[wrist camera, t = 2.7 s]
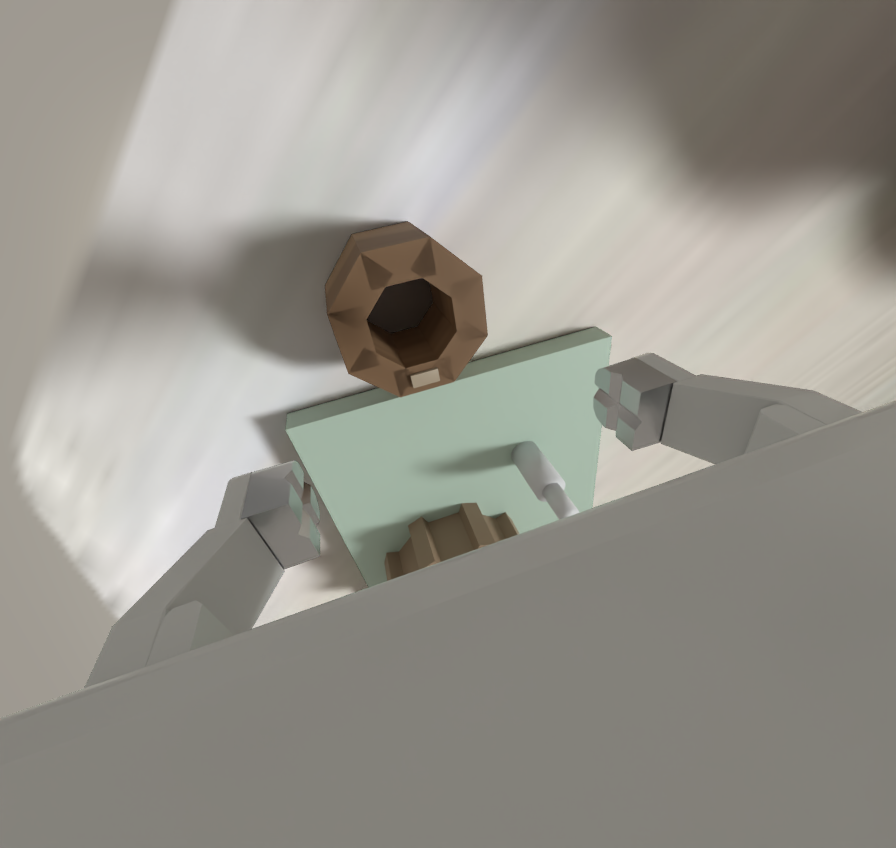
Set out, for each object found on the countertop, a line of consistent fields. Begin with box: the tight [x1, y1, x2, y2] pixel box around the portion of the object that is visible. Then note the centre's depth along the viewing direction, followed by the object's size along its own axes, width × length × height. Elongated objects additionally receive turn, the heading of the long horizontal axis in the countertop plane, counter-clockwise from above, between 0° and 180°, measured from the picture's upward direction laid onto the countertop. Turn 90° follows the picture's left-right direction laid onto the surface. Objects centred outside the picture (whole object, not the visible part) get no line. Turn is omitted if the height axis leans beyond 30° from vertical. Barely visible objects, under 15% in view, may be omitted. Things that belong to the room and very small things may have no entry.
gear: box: [325, 222, 488, 398], centre depth 17 cm, size 6×6×4 cm
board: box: [285, 327, 612, 587], centre depth 25 cm, size 22×18×7 cm
